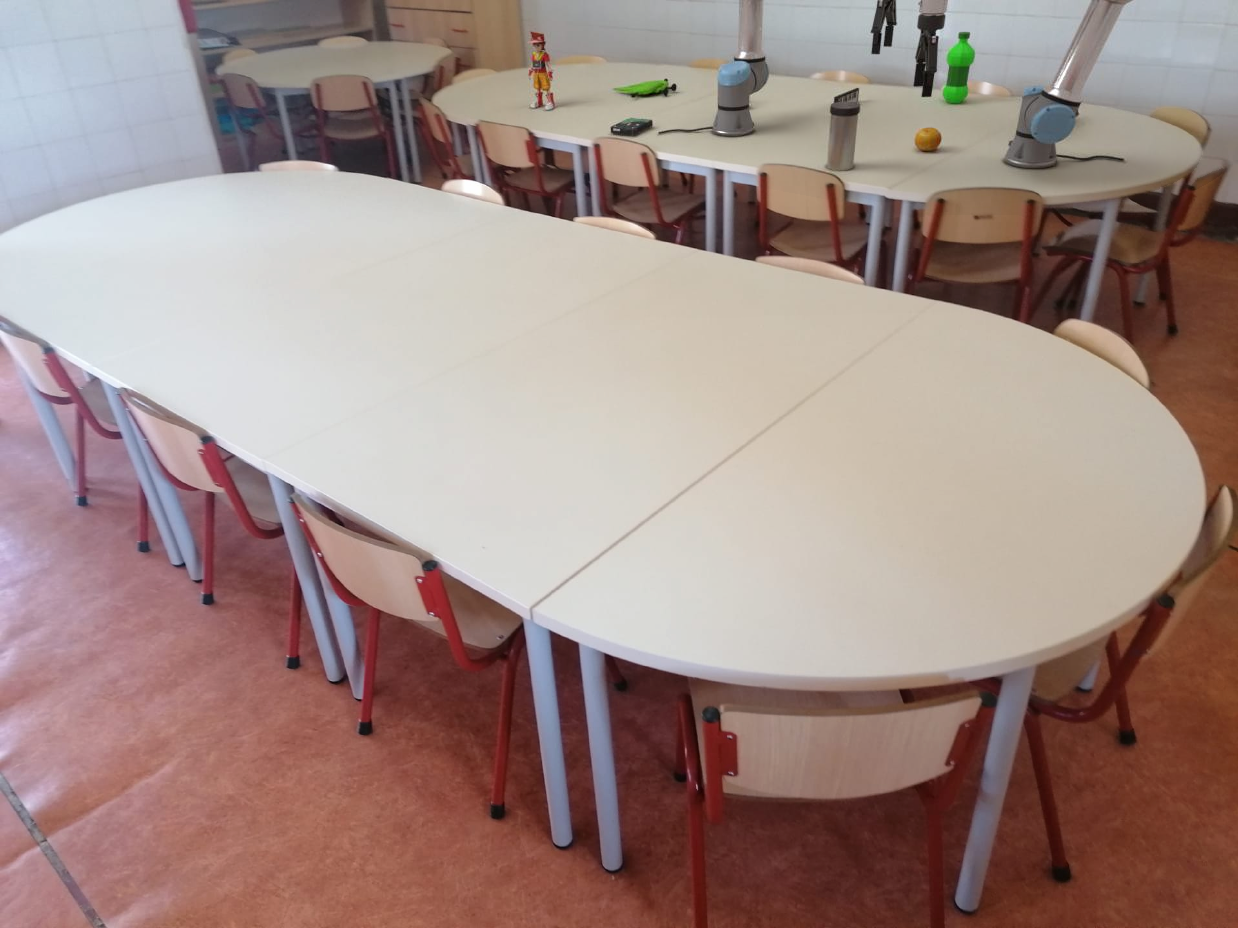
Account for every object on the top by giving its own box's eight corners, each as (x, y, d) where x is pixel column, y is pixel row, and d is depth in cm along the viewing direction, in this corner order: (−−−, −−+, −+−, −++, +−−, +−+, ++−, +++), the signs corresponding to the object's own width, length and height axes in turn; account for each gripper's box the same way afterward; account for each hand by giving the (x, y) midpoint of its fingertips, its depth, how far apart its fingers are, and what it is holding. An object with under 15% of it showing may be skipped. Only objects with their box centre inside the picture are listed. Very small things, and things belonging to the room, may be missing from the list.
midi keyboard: (835, 110, 353) (837, 97, 350) (833, 110, 354) (834, 97, 351) (858, 101, 363) (859, 88, 361) (855, 101, 364) (856, 88, 361)
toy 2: (686, 85, 398) (631, 84, 414) (685, 72, 395) (629, 72, 411) (651, 104, 381) (596, 103, 397) (650, 92, 378) (594, 91, 394)
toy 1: (525, 109, 381) (517, 32, 364) (534, 104, 388) (527, 28, 371) (550, 110, 377) (543, 32, 360) (559, 105, 384) (553, 28, 367)
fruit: (909, 141, 301) (924, 120, 298) (910, 144, 309) (925, 123, 306) (930, 155, 300) (945, 134, 297) (930, 158, 308) (946, 137, 305)
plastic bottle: (973, 101, 354) (984, 32, 339) (955, 106, 349) (966, 36, 335) (952, 97, 361) (962, 29, 346) (934, 102, 356) (944, 33, 342)
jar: (858, 166, 295) (864, 105, 284) (843, 172, 290) (848, 111, 279) (836, 161, 300) (841, 102, 289) (821, 167, 295) (826, 107, 284)
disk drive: (633, 137, 337) (653, 126, 347) (633, 129, 336) (652, 119, 346) (610, 134, 342) (630, 124, 352) (609, 127, 340) (630, 117, 350)
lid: (865, 111, 285) (866, 104, 283) (848, 117, 280) (849, 110, 278) (840, 107, 290) (841, 100, 289) (824, 113, 285) (824, 106, 284)
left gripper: (889, -14, 286) (881, 58, 298) (910, -24, 303) (902, 44, 315) (865, -14, 289) (859, 57, 301) (888, -25, 306) (881, 43, 318)
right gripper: (911, 7, 269) (902, 82, 281) (927, 22, 248) (916, 102, 261) (937, 6, 268) (927, 81, 280) (954, 20, 248) (943, 101, 260)
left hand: (881, 50), depth 308 cm, fingers open, 13 cm apart
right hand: (922, 91), depth 270 cm, fingers open, 13 cm apart
